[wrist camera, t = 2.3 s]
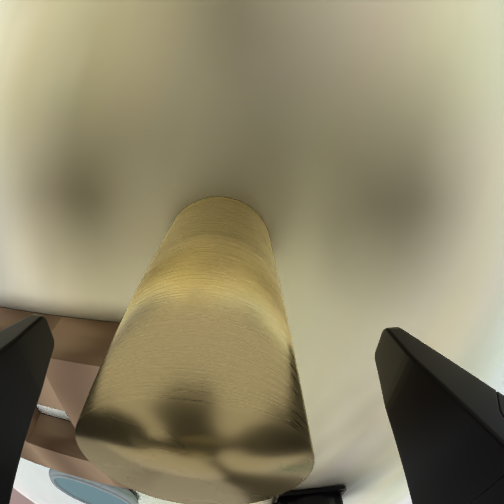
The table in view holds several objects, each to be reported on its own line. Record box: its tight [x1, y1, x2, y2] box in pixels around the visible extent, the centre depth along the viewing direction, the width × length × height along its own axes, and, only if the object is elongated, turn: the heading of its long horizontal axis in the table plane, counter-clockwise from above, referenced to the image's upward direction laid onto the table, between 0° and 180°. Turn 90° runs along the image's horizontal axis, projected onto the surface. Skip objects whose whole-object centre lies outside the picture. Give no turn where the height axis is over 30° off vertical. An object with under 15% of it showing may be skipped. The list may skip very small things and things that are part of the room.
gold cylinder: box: [75, 197, 314, 504], centre depth 8 cm, size 4×4×9 cm
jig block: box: [0, 307, 133, 490], centre depth 15 cm, size 14×14×3 cm
